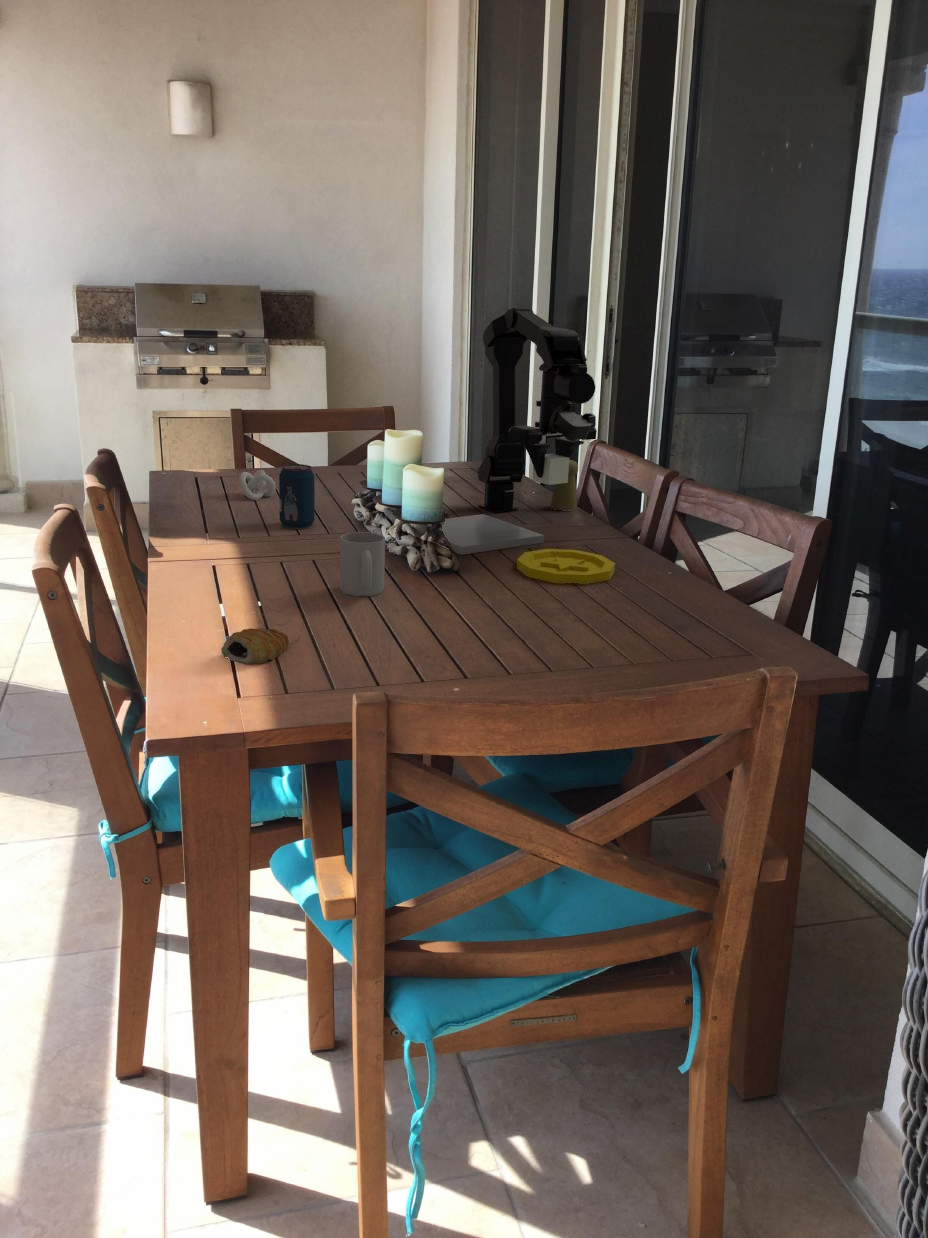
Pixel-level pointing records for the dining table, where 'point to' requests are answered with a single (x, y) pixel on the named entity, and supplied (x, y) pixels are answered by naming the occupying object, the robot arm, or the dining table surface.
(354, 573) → the cup
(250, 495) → the knot
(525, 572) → the decorative disc
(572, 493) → the cork
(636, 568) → the dining table surface
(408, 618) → the dining table surface
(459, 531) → the grey tile
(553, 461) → the sage cube
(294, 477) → the soda can
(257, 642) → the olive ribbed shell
